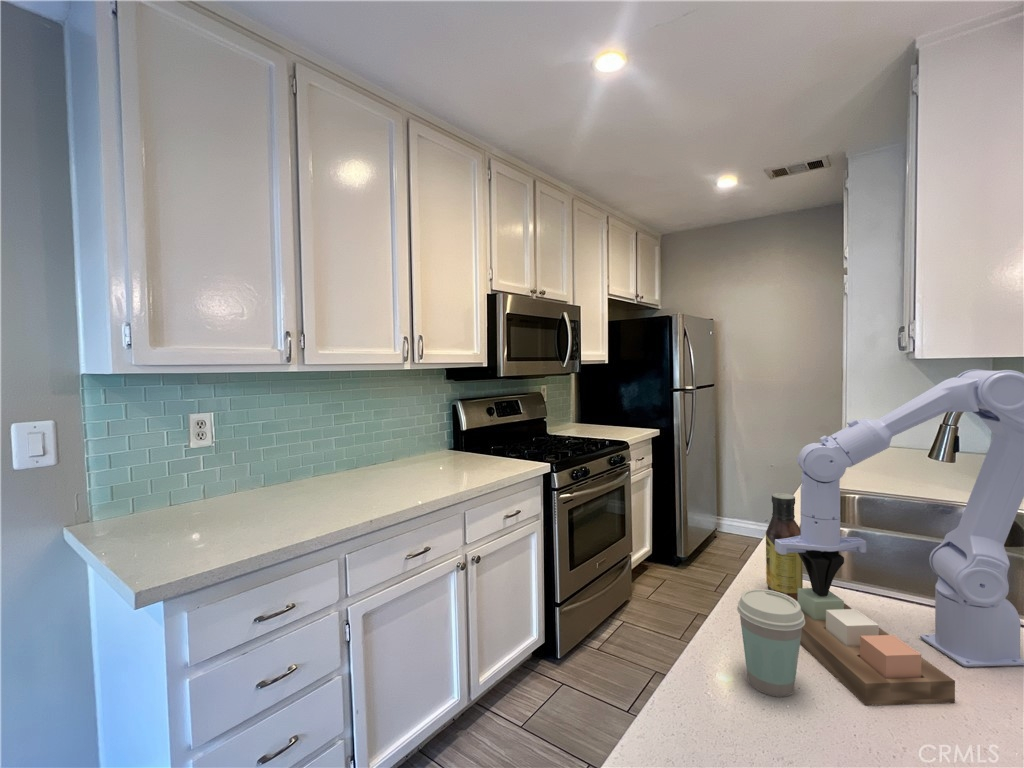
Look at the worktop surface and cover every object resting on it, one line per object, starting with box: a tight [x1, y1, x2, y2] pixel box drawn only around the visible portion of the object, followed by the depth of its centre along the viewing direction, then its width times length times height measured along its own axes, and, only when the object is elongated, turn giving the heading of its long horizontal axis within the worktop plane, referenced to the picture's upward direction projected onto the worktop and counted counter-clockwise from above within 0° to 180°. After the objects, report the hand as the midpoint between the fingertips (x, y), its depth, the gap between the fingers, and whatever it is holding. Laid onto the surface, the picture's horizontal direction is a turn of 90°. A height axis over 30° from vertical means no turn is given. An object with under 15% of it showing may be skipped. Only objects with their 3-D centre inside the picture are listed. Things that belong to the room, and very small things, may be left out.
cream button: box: [826, 608, 880, 647], centre depth 75 cm, size 5×5×4 cm
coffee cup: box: [736, 588, 805, 698], centre depth 69 cm, size 8×8×12 cm
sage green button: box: [797, 587, 845, 620], centre depth 83 cm, size 5×5×4 cm
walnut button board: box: [800, 602, 956, 706], centre depth 75 cm, size 12×22×3 cm, turn 1°
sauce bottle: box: [765, 492, 804, 600], centre depth 95 cm, size 7×6×20 cm
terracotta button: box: [860, 634, 922, 679], centre depth 68 cm, size 5×5×4 cm
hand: (819, 593), depth 83 cm, fingers closed
